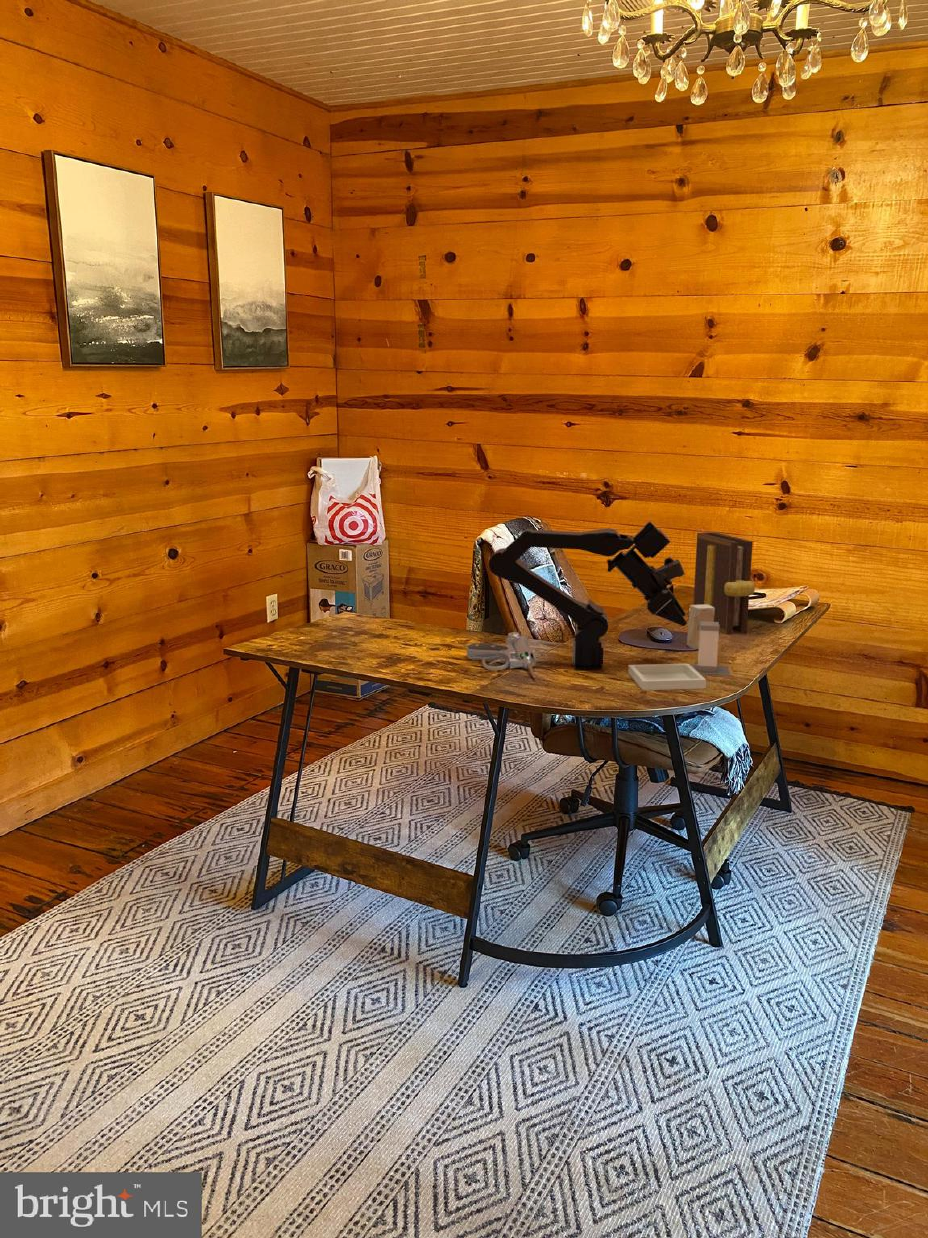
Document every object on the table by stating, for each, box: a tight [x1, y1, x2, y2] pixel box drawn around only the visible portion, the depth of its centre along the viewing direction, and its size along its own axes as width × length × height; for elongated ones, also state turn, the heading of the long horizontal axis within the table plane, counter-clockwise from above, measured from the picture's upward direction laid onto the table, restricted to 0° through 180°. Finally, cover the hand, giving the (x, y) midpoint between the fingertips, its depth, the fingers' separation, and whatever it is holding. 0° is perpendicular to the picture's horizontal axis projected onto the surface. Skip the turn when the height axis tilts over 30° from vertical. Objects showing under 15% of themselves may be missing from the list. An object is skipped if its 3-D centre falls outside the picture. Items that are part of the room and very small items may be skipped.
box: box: [686, 604, 715, 650], centre depth 244 cm, size 5×4×11 cm
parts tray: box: [627, 663, 707, 691], centre depth 216 cm, size 14×13×2 cm
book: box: [692, 532, 756, 636], centre depth 265 cm, size 22×8×25 cm, turn 17°
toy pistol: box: [466, 631, 537, 680], centre depth 230 cm, size 6×28×16 cm
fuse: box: [696, 621, 720, 673], centre depth 223 cm, size 4×4×11 cm
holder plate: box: [688, 663, 731, 677], centre depth 224 cm, size 10×8×1 cm
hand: (684, 620), depth 223 cm, fingers open, 9 cm apart
